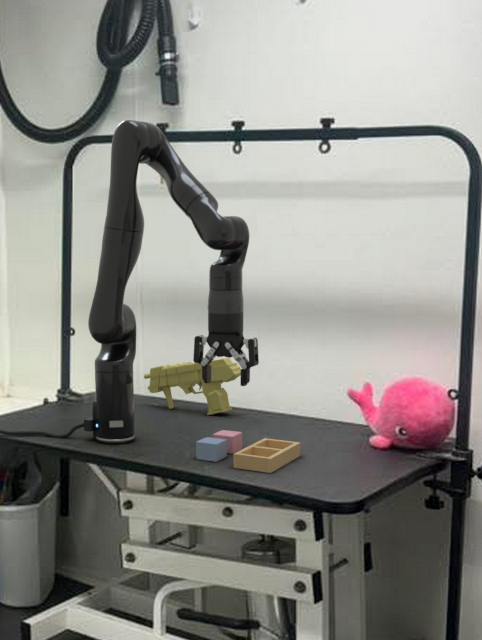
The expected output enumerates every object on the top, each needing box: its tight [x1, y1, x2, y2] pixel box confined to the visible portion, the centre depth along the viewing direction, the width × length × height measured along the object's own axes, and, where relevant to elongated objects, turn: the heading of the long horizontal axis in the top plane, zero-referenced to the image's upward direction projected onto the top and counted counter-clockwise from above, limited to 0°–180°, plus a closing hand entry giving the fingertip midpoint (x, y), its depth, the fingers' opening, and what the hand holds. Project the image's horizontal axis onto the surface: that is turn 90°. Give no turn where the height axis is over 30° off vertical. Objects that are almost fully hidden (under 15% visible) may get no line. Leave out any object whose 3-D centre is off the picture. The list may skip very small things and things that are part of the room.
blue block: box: [195, 436, 228, 463], centre depth 208 cm, size 5×5×4 cm
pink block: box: [212, 429, 243, 455], centre depth 215 cm, size 5×5×4 cm
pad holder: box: [232, 437, 301, 474], centre depth 204 cm, size 8×16×3 cm, turn 144°
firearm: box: [143, 357, 242, 416], centre depth 257 cm, size 4×30×15 cm, turn 51°
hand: (225, 384), depth 205 cm, fingers open, 8 cm apart
